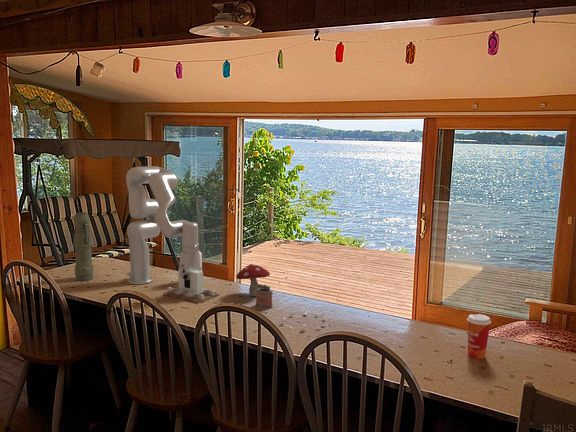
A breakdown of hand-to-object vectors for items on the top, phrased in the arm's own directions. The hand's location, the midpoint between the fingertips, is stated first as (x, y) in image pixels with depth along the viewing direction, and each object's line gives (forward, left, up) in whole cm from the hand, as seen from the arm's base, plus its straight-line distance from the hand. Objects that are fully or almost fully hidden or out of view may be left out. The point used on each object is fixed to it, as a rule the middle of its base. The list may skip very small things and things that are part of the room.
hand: (190, 286), depth 237 cm
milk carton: (-14, +17, -5) cm, 22 cm away
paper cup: (+129, +4, -5) cm, 129 cm away
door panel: (0, 0, -2) cm, 2 cm away
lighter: (+38, +6, -5) cm, 39 cm away
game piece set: (+63, -1, -5) cm, 63 cm away
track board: (0, 0, -4) cm, 4 cm away
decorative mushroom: (+24, +17, -5) cm, 30 cm away
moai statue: (-66, -10, -5) cm, 67 cm away
